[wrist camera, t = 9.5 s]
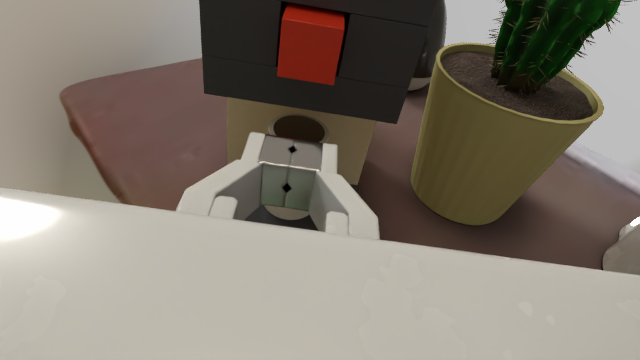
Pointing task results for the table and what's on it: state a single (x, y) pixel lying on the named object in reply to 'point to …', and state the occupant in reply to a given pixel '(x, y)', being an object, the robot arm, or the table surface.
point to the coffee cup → (299, 130)
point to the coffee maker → (304, 96)
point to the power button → (310, 43)
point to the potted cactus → (505, 109)
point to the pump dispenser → (430, 47)
